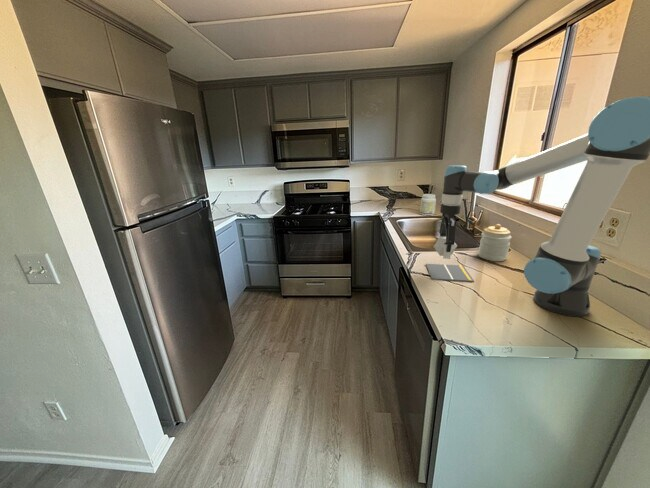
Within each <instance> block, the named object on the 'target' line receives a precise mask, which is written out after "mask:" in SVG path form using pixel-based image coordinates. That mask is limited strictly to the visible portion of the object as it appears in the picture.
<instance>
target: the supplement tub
mask: <svg viewBox="0 0 650 488" xmlns="http://www.w3.org/2000/svg"><path fill="white" fill-rule="evenodd" d="M436 206H437V198H436V194H434V193H424V194H422V197H421V199H420V206H419V214H420V215H421V214H422V215H421V216H424V215H432V216H434V215H435V213H436ZM433 214H434V215H433Z"/></svg>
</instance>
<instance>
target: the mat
mask: <svg viewBox="0 0 650 488" xmlns="http://www.w3.org/2000/svg"><path fill="white" fill-rule="evenodd" d="M425 266H426V268H427V271H428V274H429V276H430V279H431V280H433V281H450V282H451V281H453V282H467V283H469V282H470V283H475V279H474V278H473V277H472V276H471V274H470V273H469V272H468V270H467V269H466V267H465V266H464V265H461V264H458V265H456V264H446V263H445V264H443V263H442V264H440V263H439V264H438V263H425Z"/></svg>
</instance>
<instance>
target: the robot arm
mask: <svg viewBox="0 0 650 488" xmlns="http://www.w3.org/2000/svg"><path fill="white" fill-rule="evenodd" d="M649 156H650V96H644V95H641V96H630V97H626V98H622V99H619V100H616V101H614V102H612V103H610V104H609V105H607V106H605V107H604V108H603V109H601V110H600V111H599V112H598V113H597V114H596V115H595V116H594V117H593V119H592V120H591V121H590V124H589V126H588V130H587V133H586V134H583V135H581V136H579V137H576V138H573V139H571V140H568V141H566V142H564V143H561V144H559V145H557V146H553V147H551V148H549V149H546V150H544V151H541V152H539V153H536V154H534V155H531V156H529V157H526V158H523V159H521V160H519V161H516V162H514V163H511V164H508V165H506V166H504V167H501V168H499V169H496V170H488V171H470V170H469V171H468V170H467V166H466V165H457V164H456V165H455V164H453V165H447V167H446V168H445V171H444V172H445V173H444V175H443V176H444V178H443V179H444V180H443V188H442V189H443V190H442V195H441V203H440V204H441V205H440V209H439V211H440V213H441V215H442V216H441V221H440V227H439V232H438V233H439V237H446V243H444V244H445V247H444V254H443V256H442V258H443V259H445V260H446V259H447V260H448V259H451V257H452V255H451V250H452V245H454V242H455V240H456V239H455V238H456V227H457V220H456V218H455V216H457V215H459V214H460V213H461V207H462V206H461V204H462V199H463V198H464V196H463V192H467V193H476V194H480V195H492V194H493V193H494V192H495V191H499V190H504V189H508V188H509V187H511V186H514V185H516V184H520V183H523V182H526V181H529V180H531V179H534V178H537V177H540V176H543V175H547V174H549V173H552V172H555V171H559V170H562V169H565V168H568V167H571V166H574V165H577V164H580V163H584V162H586V164H585V166H584V168H583V171H582V172H581V175H580V177H579V178H578V181H577V183H576V185H575V187H574V189H573V191H572V194H571V195H570V197H569V199H568V201H567V203H566V206H565V207H564V210H563V212H562V214H561V216H560V218H559V220H558V223H556V224H557V225H556V227H555V228H554V230H553V233H552V235H551V237H550V239H549V240H548V241H544V242H542V243H540V246H539V247H538V250H537V252H536V254H535V256H534V258H531V259H530V260H529V261H528V262H527V263H526V264H525V265H524V269H523V274H524V277H525V279H526V281H527V283H528V284H529V285H530V286H531V287H533V288H534V289H535V292H534V294H533V297H532V298H533V301H534V302H535V303H536V304H537V305H538V306H539V307H542V308H543V309H545V310H547V311H550V312H553V313H556V314H559V315H564V316H568V317H584V316H585V317H586V316H587V315H588V314H589V312H590V309H591V303H590V295H589V290H590V288H591V284H592V281H593V279H594V275H595V273H596V270H597V267H598V264H599V261H600V260H601V254H602V251H601V249H600V248H598V247H596V246H593V245H590V244H591V243H592V240H593V238H594V237H595V235H596V233H597V232H598V230H599V228H600V226H601V224H602V223H603V221H604V219H605V217H606V216H607V213H608V212H609V210H610V209H611V206H612V205H613V204H614V201H615V199H616V198H617V195H618V194H619V192H620V190H621V189H622V187H623V185H624V183H625V182H626V180H627V178H628V176H629V174H630V172H631V171H632V169H633V168H635V166H638V165H640V164H642V163H644V162H646V161H647V159H648V158H649ZM450 241H451V242H450Z"/></svg>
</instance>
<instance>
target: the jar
mask: <svg viewBox="0 0 650 488" xmlns="http://www.w3.org/2000/svg"><path fill="white" fill-rule="evenodd" d="M510 234H511V231H510V230H509V229H508V228H506V227H502V225H501V224H500V223H497V224H495V225H493V226H492V225H489V226H488V227H486V228H484V229H483V231H482V232H481V238H480V239H479V240H480V244H479V248H478V250H477V251H478V252H477V253H478V256H479V257H480V258H482V259H483V260H487V261H491V262H503V261H505V260H507V258H508V255H509V248H510V245H511V242H510V240H511V239H512V238H513V237H512V235H510Z"/></svg>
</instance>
